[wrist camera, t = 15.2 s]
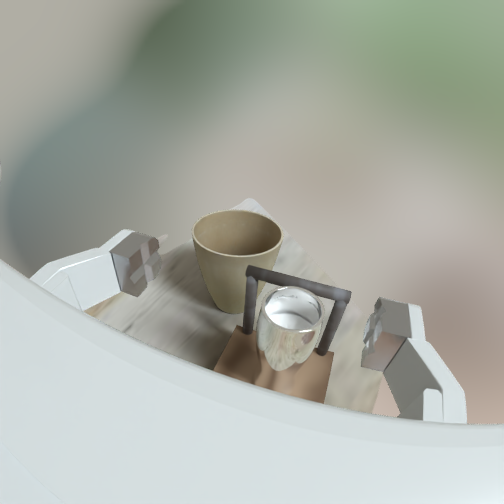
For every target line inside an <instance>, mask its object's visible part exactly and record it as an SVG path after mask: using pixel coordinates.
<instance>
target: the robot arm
mask: <svg viewBox="0 0 504 504" xmlns="http://www.w3.org/2000/svg"><path fill="white" fill-rule="evenodd" d="M0 183H1V163H0ZM158 249H159V242H158V240H157V239H156V238H155V237H152V236H149V235H145V234H141V233H139V232H134V231H132V230H128V229H123V230H122V231H120V232H119V233H118V234H116V235H115V236H114V237H113V238H112V239H110V240H109V241H108V242H106V243H105V244H104V245H103V246H101V247H100V248H99V249H98V248H94V249H90V250H87V251H84V252H81V253H78V254H74V255H71V256H68V257H65V258H62V259H59V260H56V261H53V262H49V263H48V264H46V265H45V266H44V267H42V268H41V269H40V270H39V271H38V272H37V273H35V274H34V275H33V276H32V277H31V278H30V279H28V278H27V277H25V276H24V275H22V274H21V273H20V272H18V271H17V270H15V269H14V268H12V267H11V266H9V265H8V264H7V263H5V262H4V261H3V260H1V259H0V504H504V424H467V415H466V402H465V392H464V391H463V389H462V388H461V386H460V385H459V383H458V382H457V380H456V379H455V378H454V376H453V375H452V373H451V372H450V370H449V369H448V367H447V366H446V365H445V363H444V362H443V360H442V359H441V358H440V356H439V355H438V354H437V352H436V351H435V350H434V348H433V347H432V345H431V344H430V343H429V342H426V340H425V333H424V325H423V318H422V311H421V307H420V306H418V305H413V304H409V303H403V302H398V301H394V300H390V299H386V298H382V297H379V298H378V300H377V302H376V304H375V312H374V313H373V314H371V315H370V317H369V319H368V321H367V324H366V327H365V331H364V337H363V342H364V343H365V347H364V349H363V351H362V359H361V367H364V368H368V369H372V370H377V371H381V372H383V374H384V376H385V378H386V381H387V383H388V385H389V388H390V390H391V392H392V394H393V396H394V399H395V401H396V403H397V405H398V408H399V411H400V413H401V414H400V415H399V416H398V417H390V416H383V415H377V414H371V413H366V412H360V411H355V410H350V409H345V408H340V407H335V406H331V405H326V404H322V403H318V402H314V401H309V400H305V399H302V398H298V397H294V396H290V395H286V394H283V393H279V392H276V391H272V390H269V389H266V388H262V387H259V386H256V385H253V384H249V383H246V382H243V381H240V380H237V379H234V378H231V377H228V376H226V375H223V374H220V373H217V372H214V371H212V370H209V369H206V368H204V367H201V366H199V365H196V364H193V363H191V362H188V361H186V360H183V359H181V358H178V357H176V356H174V355H171V354H169V353H167V352H164V351H162V350H160V349H157V348H155V347H153V346H151V345H148V344H146V343H144V342H142V341H140V340H138V339H135V338H133V337H131V336H129V335H127V334H125V333H123V332H121V331H119V330H117V329H115V328H113V327H111V326H109V325H107V324H105V323H103V322H101V321H99V320H98V319H96V318H94V317H92V316H90V315H88V314H86V313H85V312H83V311H84V310H86V309H88V308H90V307H92V306H94V305H96V304H98V303H100V302H102V301H104V300H106V299H108V298H110V297H112V296H114V295H116V294H118V293H120V292H121V291H122V292H125V293H127V294H130V295H133V296H135V297H138V296H139V295H140V294H141V293H142V292H143V291H144V290H145V289H146V288H147V282H149V281H152V280H154V279H155V278H156V276H157V275H158V273H159V271H160V269H161V257H160V255H159V254H158V252H157V250H158Z"/></svg>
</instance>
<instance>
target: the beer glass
mask: <svg viewBox="0 0 504 504" xmlns="http://www.w3.org/2000/svg"><path fill="white" fill-rule="evenodd" d="M324 316H325V309H324V306H323V303H322V302H321V300H320V299H319V298H318V297H317V296H316V295H315V294H313V293H312V292H310V291H308V290H306V289H303V288H300V287H295V286H283V287H278V288H275V289H273V290H271V291H270V292H268V293H267V294H266V295H265V297H264V298H263V300H262V306H261V310H260V313H259V318H258V322H257V328H256V351H257V358H258V366H257V368H256V370H255V372H254V375H253V383H254V385H256V386H259V387H262V388H266V389H269V390H272V391H276V392H279V393H283V394H286V395H289V394H291V393H292V392H293V390H294V389H295V387H296V383H297V374H298V372H299V371H300V369H301V368H302V367H303V366H304V364H305V363H306V362H307V360H308V359H309V357H310V356H311V354H312V353H313V351H314V348H315V346H316V344H317V341H318V338H319V335H320V331H321V327H322V323H323V319H324Z"/></svg>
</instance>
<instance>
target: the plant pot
mask: <svg viewBox="0 0 504 504" xmlns="http://www.w3.org/2000/svg"><path fill="white" fill-rule="evenodd" d="M192 236H193V242H194V246H195V251H196V256H197V259H198V263H199V267H200V270H201V273H202V276H203V278H204V281H205V283H206V286H207V288H208V290H209V292H210V294H211V296H212V298H213V300H214V302H215V304H216V305H217V307H218V308H219V309H220V310H222V311H224V312H226V313H231V314H239V313H243V312H244V305H245V292H246V279H247V277H246V276H245V273H246V269H247V266H248V265H252V266H256V267H260V268H263V269H267V270H271V271H272V269H273V266H274V264H275V261H276V258H277V256H278V253H279V250H280V247H281V243H282V240H283V231H282V229H281V227H280V226H279V225H278V224H277V223H276V222H275V221H274V220H272V219H271V218H269V217H267V216H265V215H262V214H260V213H256V212H252V211H247V210H221V211H216V212H212V213H209V214H207V215H205V216H203V217H201V218H200V219H198V220H197V221H196V222H195V223H194V225H193V227H192ZM265 284H266V282H264V281H260V280H259V281H258V290H257V297H258V296H259V294H260V293H261V291H262V289H263V287H264V286H265Z"/></svg>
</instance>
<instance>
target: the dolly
mask: <svg viewBox="0 0 504 504" xmlns="http://www.w3.org/2000/svg"><path fill="white" fill-rule="evenodd" d="M245 276H246V277H247V279H246V292H245V305H244V317H243V327H241V326H238V325H237V326H236V328H235V330H234V331H233V333H232V335H231V337H230V339H229V341H228V343H227V345H226V347H225V349H224V351H223V353H222V354H221V356H220V358H219V360H218V362H217V364H216V366H215V368H214V370H213V371H214V372H217V373H220V374H223V375H226V376H228V377H231V378H234V379H237V380H240V381H243V382H246V383H249V384H253V385H254V383H253V375H254V372H255V370H256V368H257V366H258V358H257V351H256V331H254V330H253V324H254V316H255V307H256V299H257V290H258V281H259V280H260V281H264V282H267V283H271V284H275V285H279V286H282V287H283V286H295V287H300V288H303V289H306V290H308V291H310V292H312V293H313V294H315V295H316V296H320V297H324V298H328V299H332V300H335V303H334V306H333V309H332V312H331V314H330V317H329V320H328V322H327V325H326V328H325V330H324V333H323V335H322V338H321V341H320V343H319V346H318V348H314V351H313V353H312V354H311V356H310V357H309V359H308V360H307V362H306V363H305V364H304V366H303V367H302V368H301V369H300V371H299V372H298V374H297V383H296V387H295V389H294V390H293V392H292V393H291V394H289V395H290V396H294V397H298V398H302V399H305V400H309V401H314V402H318V403H322V404H324V399H325V395H326V390H327V386H328V381H329V376H330V371H331V366H332V361H333V356H334V352H330V351H328V349H329V346H330V344H331V342H332V339H333V337H334V335H335V332H336V330H337V328H338V325H339V323H340V321H341V318H342V316H343V313H344V311H345V308H346V306H347V304H348V303H349V301H350V298H351V291H348V290H344V289H340V288H336V287H332V286H328V285H324V284H321V283H317V282H313V281H309V280H305V279H301V278H298V277H294V276H290V275H286V274H282V273H279V272H275V271H271V270H267V269H263V268H260V267H256V266H252V265H248V266H247V269H246V273H245Z"/></svg>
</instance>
